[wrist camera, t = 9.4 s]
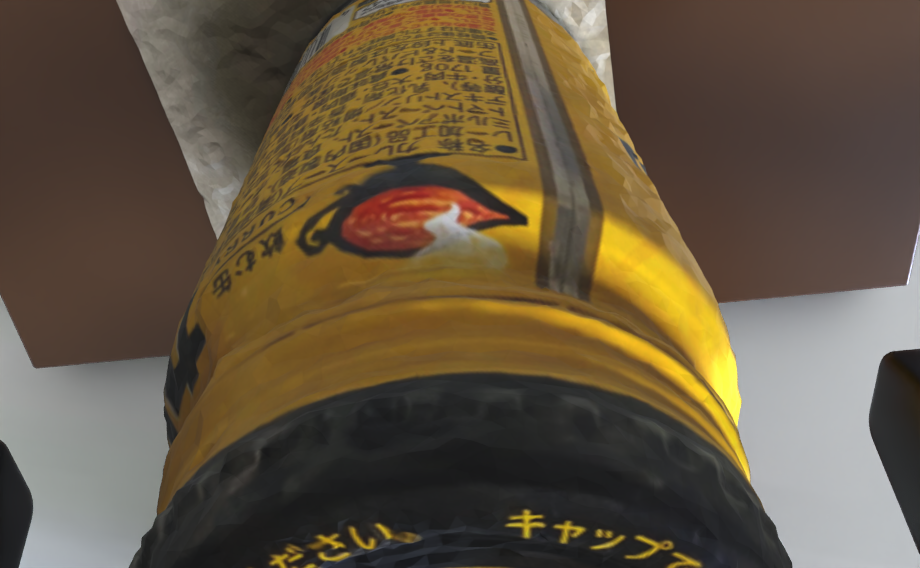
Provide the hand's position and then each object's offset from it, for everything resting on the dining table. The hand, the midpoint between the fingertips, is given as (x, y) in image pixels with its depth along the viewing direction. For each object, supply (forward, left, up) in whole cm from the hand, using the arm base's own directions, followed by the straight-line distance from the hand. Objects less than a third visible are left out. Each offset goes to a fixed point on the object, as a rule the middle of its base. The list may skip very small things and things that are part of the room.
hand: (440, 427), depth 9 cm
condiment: (0, +1, -9) cm, 9 cm away
